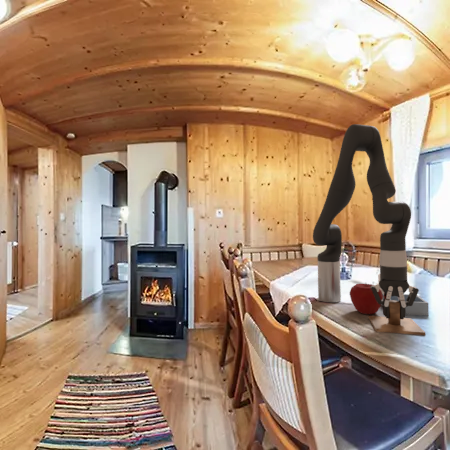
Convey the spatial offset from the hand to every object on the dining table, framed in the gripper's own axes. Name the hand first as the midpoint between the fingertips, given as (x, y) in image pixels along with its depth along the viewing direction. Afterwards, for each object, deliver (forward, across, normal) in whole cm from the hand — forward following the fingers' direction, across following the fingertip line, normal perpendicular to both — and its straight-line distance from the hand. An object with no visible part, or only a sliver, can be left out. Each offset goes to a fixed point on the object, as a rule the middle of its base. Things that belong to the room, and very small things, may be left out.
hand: (394, 317), depth 93 cm
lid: (+3, 0, 0) cm, 3 cm away
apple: (+3, -6, +13) cm, 15 cm away
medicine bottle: (+3, +5, +33) cm, 34 cm away
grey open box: (+3, +8, +20) cm, 22 cm away
